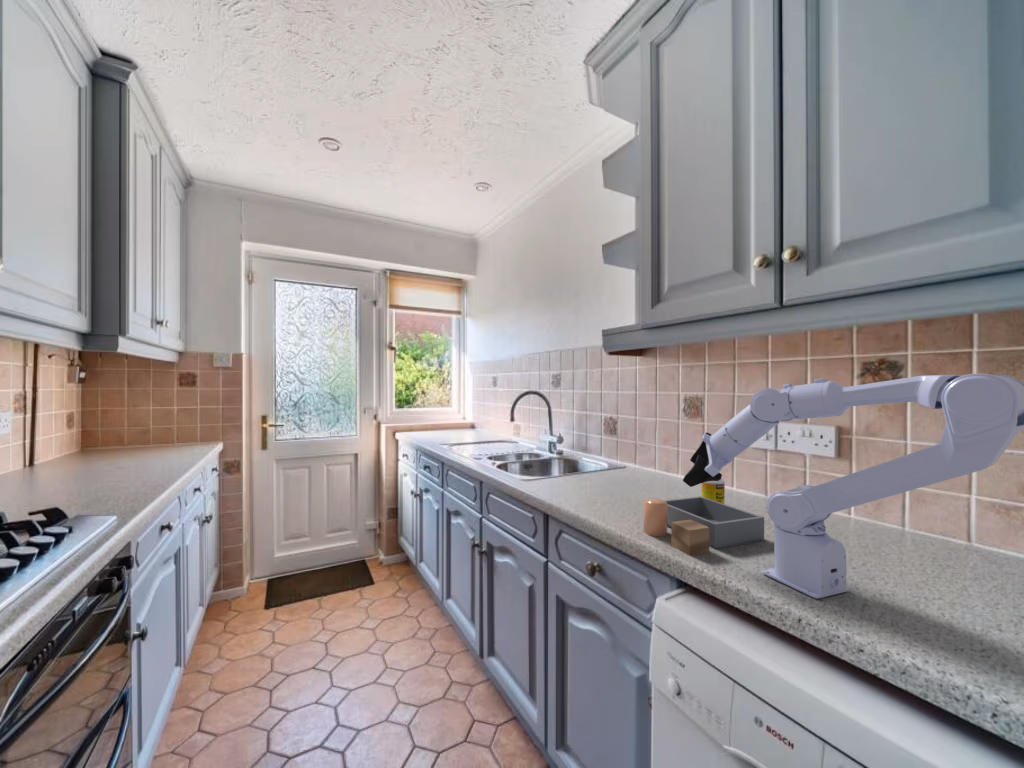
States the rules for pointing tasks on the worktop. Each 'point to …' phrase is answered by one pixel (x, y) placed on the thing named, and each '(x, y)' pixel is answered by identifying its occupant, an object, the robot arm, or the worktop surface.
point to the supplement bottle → (714, 490)
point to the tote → (718, 521)
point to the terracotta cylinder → (655, 517)
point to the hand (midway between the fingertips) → (690, 472)
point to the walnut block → (690, 537)
